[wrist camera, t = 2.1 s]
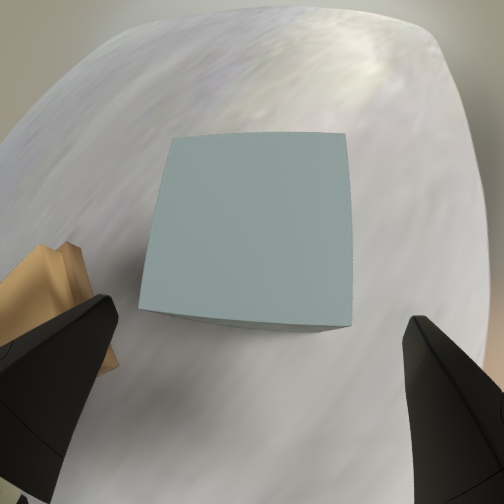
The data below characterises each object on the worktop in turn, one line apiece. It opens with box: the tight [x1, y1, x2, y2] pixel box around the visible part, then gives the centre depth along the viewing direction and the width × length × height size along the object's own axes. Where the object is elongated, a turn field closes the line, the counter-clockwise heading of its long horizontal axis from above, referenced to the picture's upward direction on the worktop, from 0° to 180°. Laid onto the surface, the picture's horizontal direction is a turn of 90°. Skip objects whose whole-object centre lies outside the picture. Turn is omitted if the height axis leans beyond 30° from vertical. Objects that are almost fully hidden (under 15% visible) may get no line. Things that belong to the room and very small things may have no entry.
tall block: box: [138, 132, 353, 332], centre depth 12 cm, size 5×5×11 cm
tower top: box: [0, 244, 75, 347], centre depth 16 cm, size 8×8×2 cm
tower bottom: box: [56, 241, 119, 377], centre depth 19 cm, size 10×10×2 cm
